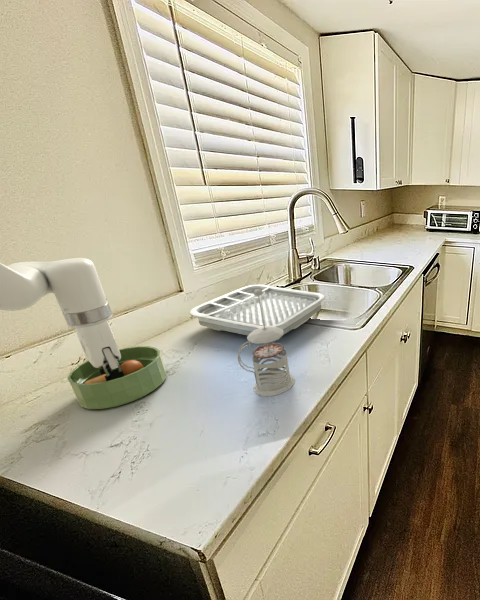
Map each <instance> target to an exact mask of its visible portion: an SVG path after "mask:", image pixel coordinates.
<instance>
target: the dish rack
mask: <svg viewBox="0 0 480 600" xmlns="http://www.w3.org/2000/svg"><path fill="white" fill-rule="evenodd" d="M256 289H260V290H262V292H263V294H262V295H259V298H260V303H261V309H262V314H263V320H264V325H265V327H266V326H273V327H278V328H280V329H283V331H284V333H283V336H284V335H286V334H287V333H289V332H290V331H292V330H295V329H297V328H299V327H301V325H303V324H304V323H306V322H307V321H309V319H311V318H312V317H314V315H315V314H317V313H318V312H320V311H321V310H322V302H323V301H324V300H325V298H326V296H325V294H323V293H321V292H315V291H306V290H300V289H292V288H285V287H280V286H279V287H277V286H273V285H268V284H250V285H246V286H243V287H241V288H238V289H235V290H233V291H231V292H228V293H225V294H223V295H221V296H218V297H216V298H213V299H211V300H209V301H206V302H203V303H202V304H199V305H197V306H195V307H193V308H191V309H190V311H189V315H190V316H191V317H194V318H197V319H198V324H199V325H200V326H202V327H207V328H211V329H212V330H213V331H218V332H221V331H224V332H228V333H233V334H238V335H244V336H248V335H249V334H250V333H251V332H253V331H254V330H256V329H259V328H261V327H264V325H263V320H262V314H261V309H260V303H259V298H258V296H255V295H254V291H255V290H256Z"/></svg>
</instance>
